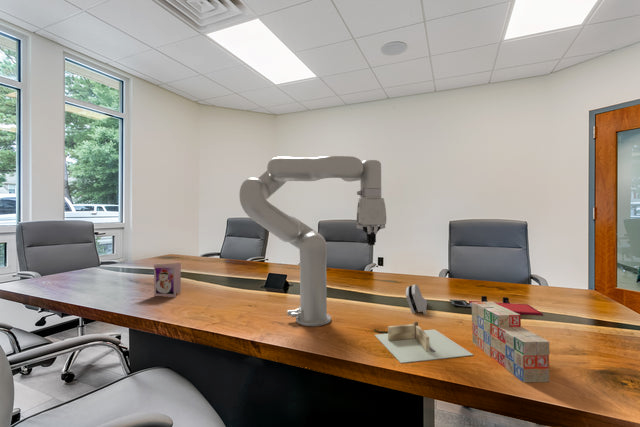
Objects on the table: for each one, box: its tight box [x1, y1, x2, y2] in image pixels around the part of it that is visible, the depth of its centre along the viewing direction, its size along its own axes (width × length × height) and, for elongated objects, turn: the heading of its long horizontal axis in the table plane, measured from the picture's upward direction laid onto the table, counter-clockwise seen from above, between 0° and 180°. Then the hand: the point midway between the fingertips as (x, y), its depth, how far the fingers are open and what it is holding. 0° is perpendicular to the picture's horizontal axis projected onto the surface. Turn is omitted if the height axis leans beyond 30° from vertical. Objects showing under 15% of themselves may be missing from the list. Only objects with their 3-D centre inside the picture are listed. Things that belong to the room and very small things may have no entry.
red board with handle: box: [448, 295, 544, 316], centre depth 121 cm, size 30×3×15 cm
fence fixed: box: [387, 321, 419, 341], centre depth 89 cm, size 10×1×5 cm, turn 101°
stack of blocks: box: [471, 301, 550, 383], centre depth 77 cm, size 21×6×12 cm, turn 1°
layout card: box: [374, 329, 474, 364], centre depth 86 cm, size 21×18×1 cm
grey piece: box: [405, 284, 428, 315], centre depth 121 cm, size 17×5×10 cm, turn 158°
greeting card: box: [153, 262, 182, 298], centre depth 141 cm, size 11×7×15 cm, turn 80°
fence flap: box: [416, 325, 430, 351], centre depth 85 cm, size 8×1×4 cm, turn 1°
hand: (371, 244), depth 108 cm, fingers closed
